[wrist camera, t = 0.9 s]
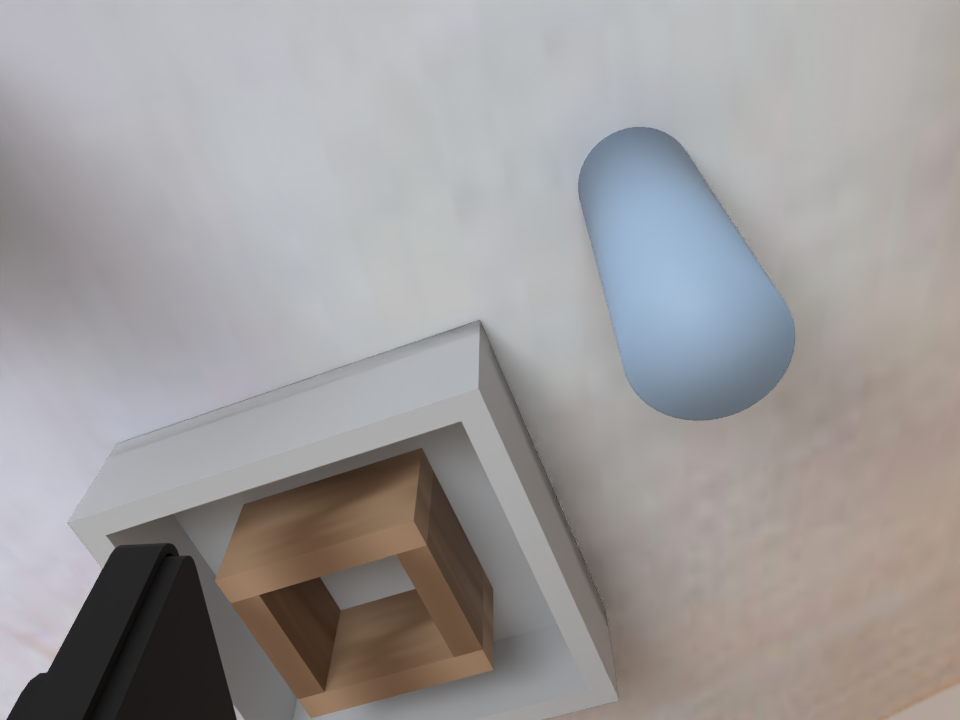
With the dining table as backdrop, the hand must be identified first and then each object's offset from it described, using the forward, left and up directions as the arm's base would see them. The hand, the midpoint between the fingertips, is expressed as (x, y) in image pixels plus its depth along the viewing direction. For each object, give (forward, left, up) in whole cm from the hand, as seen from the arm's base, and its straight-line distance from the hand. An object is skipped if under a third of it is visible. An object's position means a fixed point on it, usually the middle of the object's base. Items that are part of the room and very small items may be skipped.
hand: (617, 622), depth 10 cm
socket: (+12, +15, -23) cm, 30 cm away
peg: (-3, +4, -23) cm, 24 cm away
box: (+12, +15, -23) cm, 30 cm away
